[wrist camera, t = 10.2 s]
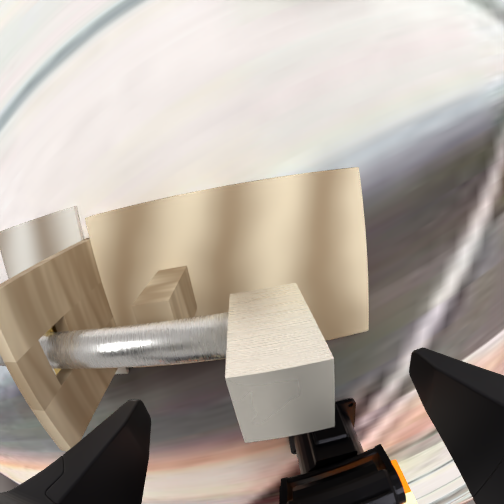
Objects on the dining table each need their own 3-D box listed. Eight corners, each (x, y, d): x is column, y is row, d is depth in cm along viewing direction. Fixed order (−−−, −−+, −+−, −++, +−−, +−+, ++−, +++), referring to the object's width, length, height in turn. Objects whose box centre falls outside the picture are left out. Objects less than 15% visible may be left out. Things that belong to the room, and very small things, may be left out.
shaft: (295, 282, 13) (333, 358, 8) (302, 338, 14) (334, 426, 8) (-20, 324, 13) (-71, 365, 8) (-3, 361, 14) (-47, 407, 8)
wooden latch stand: (350, 153, 19) (464, 141, 8) (363, 334, 22) (432, 434, 11) (-1, 232, 19) (-97, 271, 8) (50, 371, 22) (-7, 448, 11)
